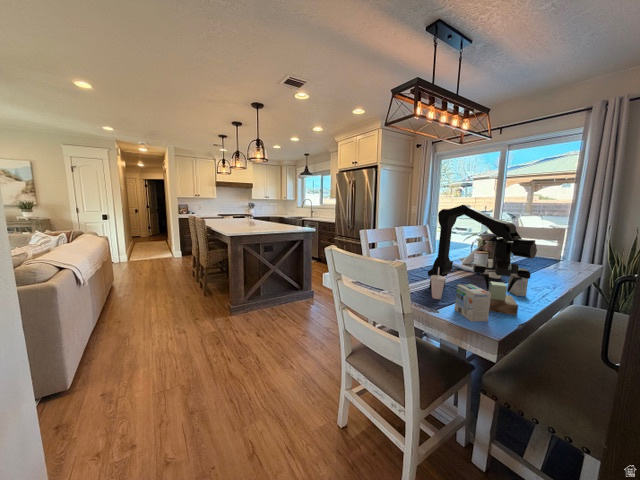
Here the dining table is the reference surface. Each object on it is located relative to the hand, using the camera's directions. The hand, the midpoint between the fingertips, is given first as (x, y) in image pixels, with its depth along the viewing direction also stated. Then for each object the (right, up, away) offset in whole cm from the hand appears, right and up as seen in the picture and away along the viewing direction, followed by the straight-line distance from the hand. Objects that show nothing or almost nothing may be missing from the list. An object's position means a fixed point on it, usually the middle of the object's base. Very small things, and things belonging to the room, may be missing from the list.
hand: (497, 290), depth 106 cm
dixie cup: (+29, -1, +45) cm, 54 cm away
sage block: (0, -3, 0) cm, 3 cm away
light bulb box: (-15, -8, -7) cm, 19 cm away
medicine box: (+22, -5, +18) cm, 29 cm away
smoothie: (-20, -5, +11) cm, 24 cm away
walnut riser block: (0, -7, +1) cm, 7 cm away
